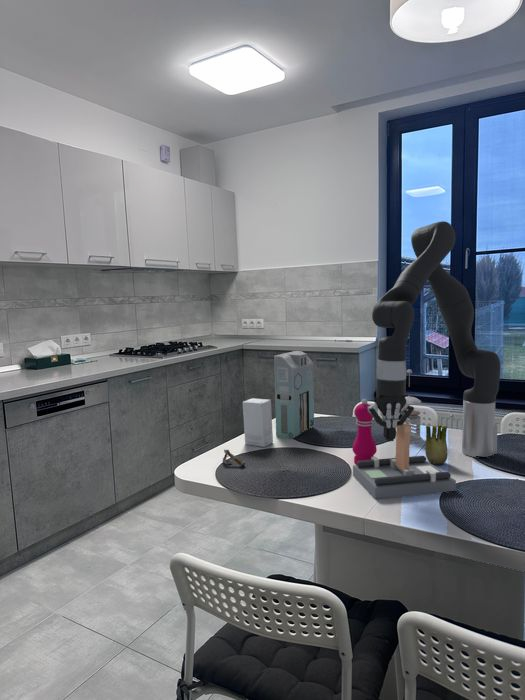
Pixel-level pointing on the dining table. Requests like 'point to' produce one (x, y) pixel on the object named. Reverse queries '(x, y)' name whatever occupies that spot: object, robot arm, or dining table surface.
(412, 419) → the french press
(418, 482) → the panel
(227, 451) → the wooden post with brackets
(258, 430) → the skincare box
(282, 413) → the device
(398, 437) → the lever
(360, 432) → the pepper mill
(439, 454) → the fennel bulb
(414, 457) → the pair of dark bars
